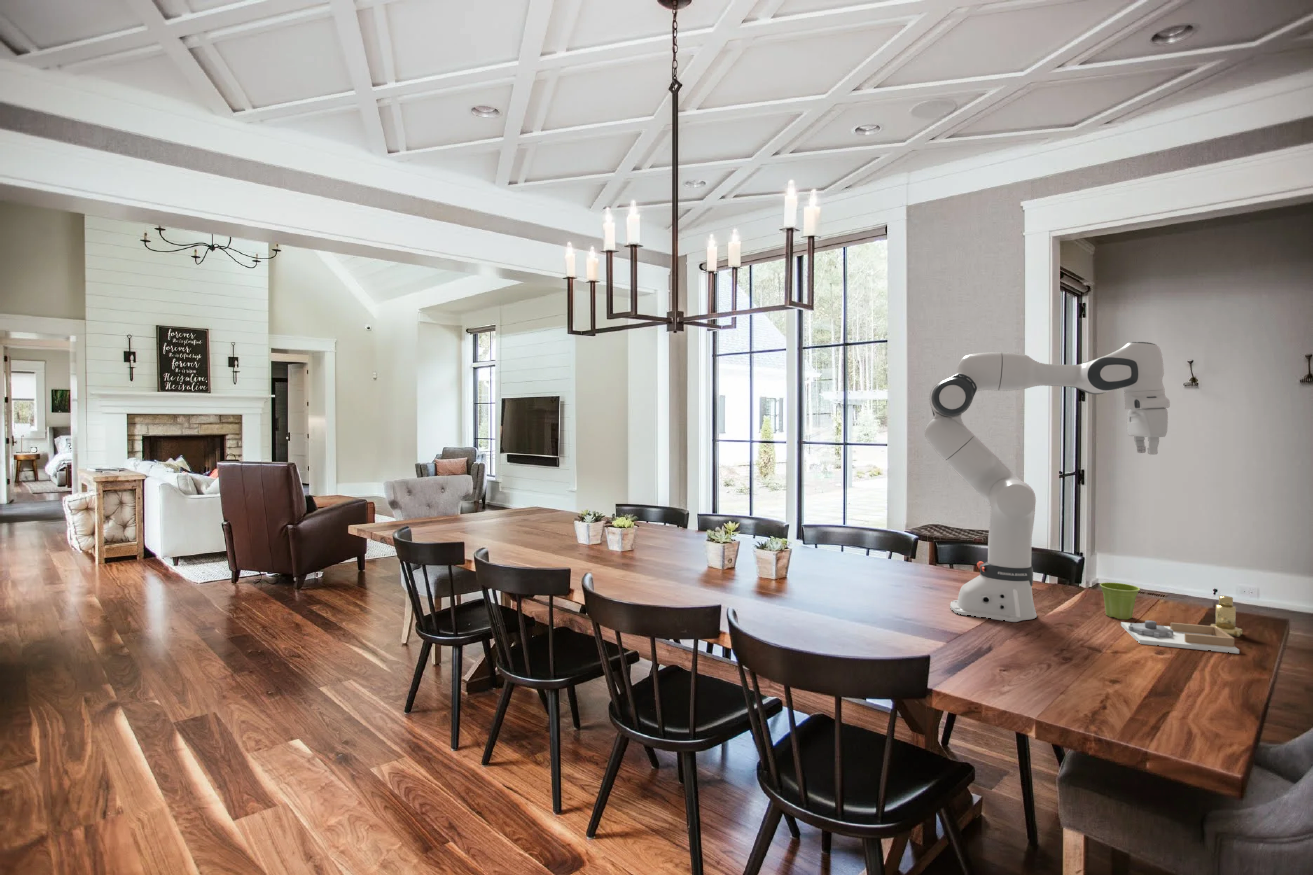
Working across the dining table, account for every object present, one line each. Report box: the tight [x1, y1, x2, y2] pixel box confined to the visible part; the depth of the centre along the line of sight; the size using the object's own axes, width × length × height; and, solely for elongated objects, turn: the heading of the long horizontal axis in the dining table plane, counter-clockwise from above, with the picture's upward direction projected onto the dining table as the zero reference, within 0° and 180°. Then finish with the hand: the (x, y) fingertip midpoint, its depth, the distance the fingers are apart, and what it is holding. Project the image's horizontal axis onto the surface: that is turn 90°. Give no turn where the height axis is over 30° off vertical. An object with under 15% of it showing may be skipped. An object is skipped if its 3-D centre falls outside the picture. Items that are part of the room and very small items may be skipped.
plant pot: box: [1099, 582, 1141, 620], centre depth 193 cm, size 9×9×9 cm
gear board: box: [1120, 619, 1240, 654], centre depth 173 cm, size 20×16×4 cm
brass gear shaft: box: [1210, 595, 1243, 637], centre depth 178 cm, size 7×6×9 cm
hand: (1146, 453), depth 183 cm, fingers open, 8 cm apart
